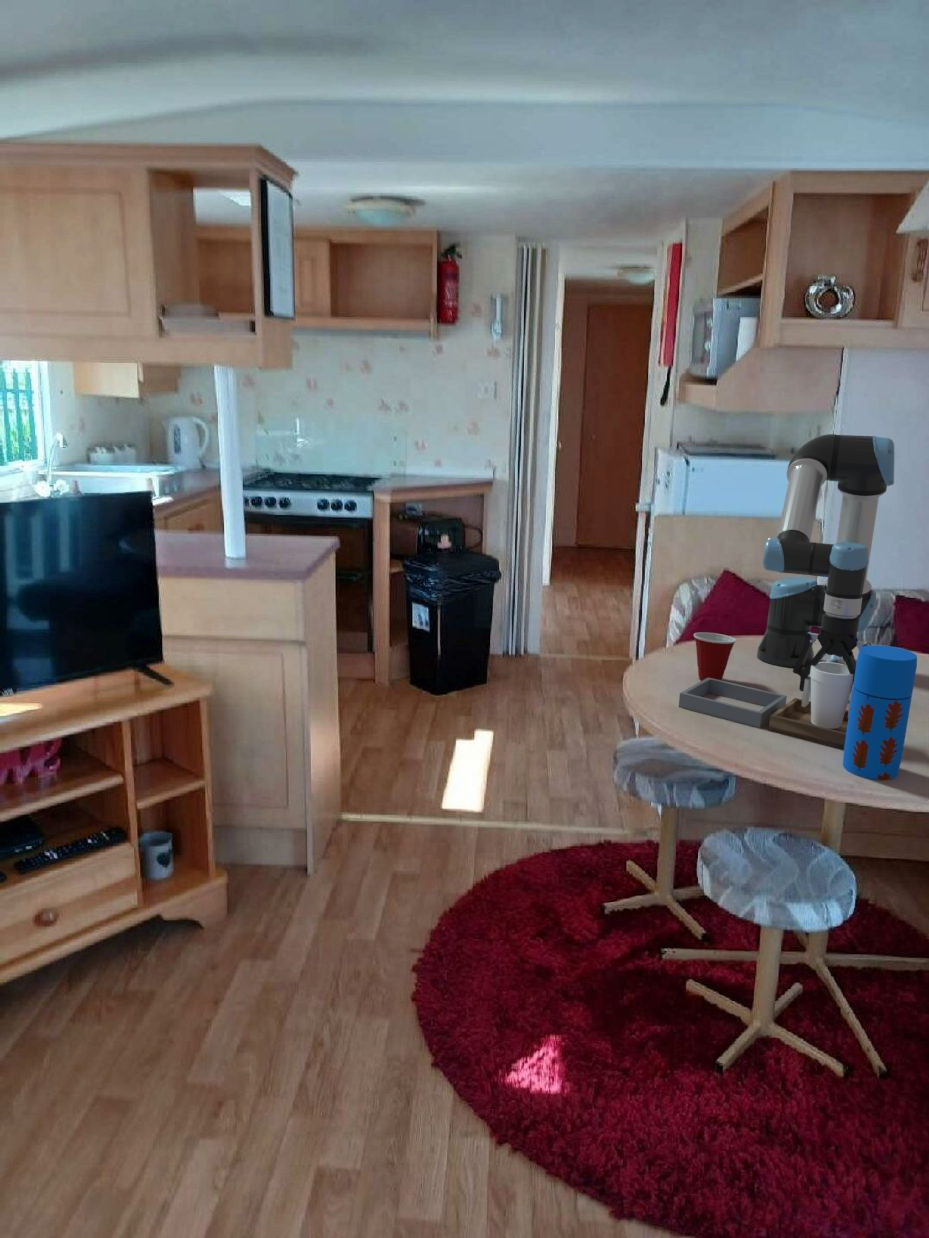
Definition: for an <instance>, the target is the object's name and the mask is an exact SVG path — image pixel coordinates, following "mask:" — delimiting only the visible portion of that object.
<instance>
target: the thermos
mask: <svg viewBox="0 0 929 1238" xmlns="http://www.w3.org/2000/svg"><path fill="white" fill-rule="evenodd" d="M917 667H918V656H917V654H916V653H914V652H913V651H910V650H907V649H904V648H900V647H896V646H890V645H882V644H881V645H880V644H878V645H877V644H871V645H867V646H863V647H861V648H860V650H859V649H858V653H857V657H856V670H855V677H854V684H853V687H852V689H853V691H852V697H851V696H850V697H851V704H850V703H849V704H850V711H849V718H848V725H847V732H846V738H845V745H844V750H843V759H842V766H843V768H844V770H846V771H847V772H849V773H851V774H853V775H855V776H858V777H861V778H864V779H869V780H875V781H888V780H893V779H896V778H897V776H898V775H899V772H900V766H901V763H902V758H903V753H904V746H905V739H906V735H907V728H908V723H909V717H910V709H911V705H912V697H913V691H914V685H915V680H916V673H917Z"/></svg>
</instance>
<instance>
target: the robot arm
mask: <svg viewBox="0 0 929 1238" xmlns="http://www.w3.org/2000/svg"><path fill="white" fill-rule="evenodd" d="M786 478H787V481H788V485H787V490H786V493H785V497H784V498H785V499H784V503H783V507H782V512H781V515H780V520H779V526H778V531H777V533H776V537H774V538H768V539H767V540H765V544H764V549H763V557H762V567H763V569H765V570H766V571H771V572H775V573H777V572H778V573H781V574H782V573H783V574H792V575H805V576H791V577H784V578H783V577H782V578H779V579H777V580H774V582H773V583H772V585H771V590H770V594H769V605H768V606H769V607H768V615H767V623H766V630H765V633H764V635H763V637H762V638H761V641H760V642H759V645H758V647H757V650H756V651H757V652H756V657H757V658H758V660H760V661H762V662H764V663H767V664H771V665H775V666H781V667H785V668H786V667H789V668H793V669H792V673H793V674H796V675H798V676H799V677H800V680H799V688H798V689H799V691H800V692H802V698H801V699H802V705H801V706H802V707H806V706H807V705H808V704H809V701H810V699H811V677H810V670H811V665H813V666H816V665H817V664H818V663H819V662H821V661H822V659H823V658H824V656H826V655H828V656H836V657H837V658H838V657H839V658H842V659H843V662H845V665H847V667H848V670H849V673H850V674H853V683H854V677H855V670H856V663H857V661H856V660H855V655H854V652H853V650H854V649H855V648H858V651H859V650H860V648H861V647H863V646H867V645H872V643H870V642H866V643H865V642H862V641H859V639H858V633H862V632H864V631H866V629H867V628H868V625H869V624H870V621H871V617H872V615H873V611H874V607H875V604H876V603H875V602H876V599H877V592H876V591H875V590H874V589H872V586H873V585H872V584H871V582H870V581H869V580H868V579H867V578H868V571H869V570H868V569H869V565H870V564H869V563H870V559H871V552H872V545H873V538H874V532H875V526H876V525H875V524H876V518H877V511H878V505H879V498H880V497H881V496H883V495H885V493H886V492H887V489H888V487H891V486H893V485H894V482H895V443H894V441H893V439H891V438H889V437H880V436H876V435H855V434H854V435H853V434H852V435H849V434H847V435H846V434H835V433H831V434H830V433H828V434H823V435H820V436H817V437H814V438H813V439H810V440H809V441H807V442H806V443H804V444H803V445H802V446H801V447H800V448H798V449H797V450H796V451H795V453H794V454H793V455H792V457H791V459H790V461H789V463H788V466H787V470H786ZM827 481H829V482H837V490H838V491H839V492H840V493H841V494H842V498H841V507H840V513H839V522H838V528H837V529H838V530H837V536H836V537H837V538H836V543H834V544H833V543H824V542H823V543H822V542H814V541H813V542H812V540H811V539H812V534H813V528H814V522H815V519H816V518H815V517H816V514H817V506H818V502H819V498H820V497H819V496H820V493H821V492H820V491H821V486H823V485H824V484H825V483H826V482H827ZM807 576H813V577H824V578H827V579H826V580H825V583H824V585H821V584H818V581H817V579H816V578H813V577H807ZM812 627H813V628H820V631H819V633H815V632H813V631H812ZM816 641H818V642H819V644H820V646H821V648H820V649H819V650H818V651H817V653H816V654H815V653H814V649H813V645H814V643H816ZM803 667H805V668H803ZM852 691H853V688H852V690H851V694H850V697H849V703H848V704H849V706H848V710H849V711H850V704H851V697H852ZM849 711H848V718H849Z"/></svg>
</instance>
